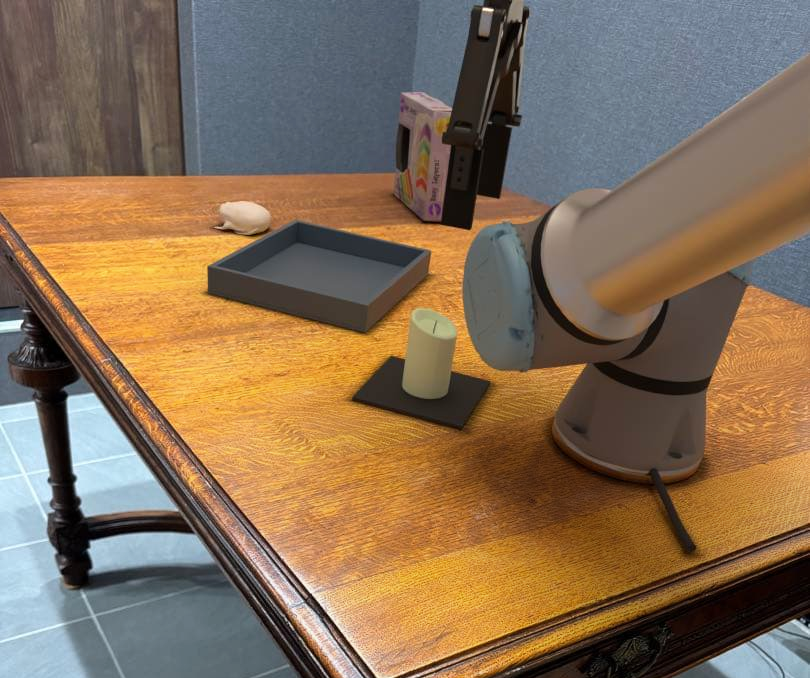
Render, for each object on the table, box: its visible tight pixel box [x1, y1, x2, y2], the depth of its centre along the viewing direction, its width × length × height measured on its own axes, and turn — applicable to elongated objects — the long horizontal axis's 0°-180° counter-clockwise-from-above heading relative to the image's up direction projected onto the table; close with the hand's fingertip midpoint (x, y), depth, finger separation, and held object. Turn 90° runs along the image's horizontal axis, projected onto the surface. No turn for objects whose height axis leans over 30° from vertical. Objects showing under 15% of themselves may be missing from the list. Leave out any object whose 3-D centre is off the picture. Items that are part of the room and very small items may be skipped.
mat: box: [351, 355, 491, 430], centre depth 88 cm, size 12×12×1 cm
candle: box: [402, 307, 458, 399], centre depth 85 cm, size 5×5×8 cm
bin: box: [206, 219, 432, 334], centre depth 110 cm, size 26×22×4 cm
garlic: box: [213, 200, 272, 236], centre depth 124 cm, size 8×7×4 cm
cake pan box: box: [393, 91, 452, 223], centre depth 142 cm, size 19×5×18 cm, turn 17°
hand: (472, 210), depth 77 cm, fingers open, 13 cm apart
